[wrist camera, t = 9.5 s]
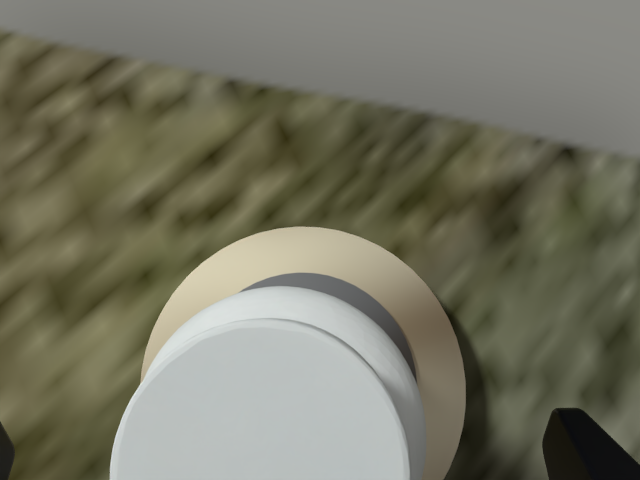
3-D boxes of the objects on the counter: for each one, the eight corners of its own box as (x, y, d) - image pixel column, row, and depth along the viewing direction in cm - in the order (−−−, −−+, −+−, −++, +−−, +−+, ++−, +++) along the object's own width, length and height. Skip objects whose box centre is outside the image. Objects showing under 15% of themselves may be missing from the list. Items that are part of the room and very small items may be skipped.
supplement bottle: (414, 453, 16) (531, 629, 7) (240, 513, 16) (104, 779, 7) (355, 280, 17) (385, 217, 8) (189, 334, 17) (4, 341, 7)
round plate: (518, 434, 18) (534, 443, 16) (251, 613, 17) (243, 637, 16) (350, 179, 19) (351, 167, 18) (98, 333, 19) (80, 334, 17)
